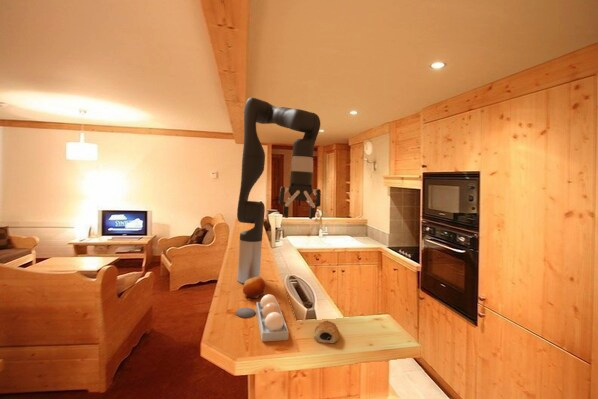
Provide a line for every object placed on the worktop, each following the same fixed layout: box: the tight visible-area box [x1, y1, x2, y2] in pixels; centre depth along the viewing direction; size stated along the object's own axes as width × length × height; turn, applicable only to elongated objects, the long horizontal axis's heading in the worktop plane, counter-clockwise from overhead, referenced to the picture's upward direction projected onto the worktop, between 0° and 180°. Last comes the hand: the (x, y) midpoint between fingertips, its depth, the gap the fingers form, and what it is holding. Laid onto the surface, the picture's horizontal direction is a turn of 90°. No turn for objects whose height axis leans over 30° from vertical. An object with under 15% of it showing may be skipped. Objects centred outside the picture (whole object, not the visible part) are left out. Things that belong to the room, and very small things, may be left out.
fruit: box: [242, 276, 266, 299], centre depth 105 cm, size 8×8×8 cm
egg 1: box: [259, 293, 278, 309], centre depth 92 cm, size 5×5×5 cm
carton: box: [255, 301, 290, 342], centre depth 86 cm, size 19×7×2 cm, turn 13°
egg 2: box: [265, 312, 284, 332], centre depth 80 cm, size 5×5×5 cm
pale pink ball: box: [262, 303, 281, 318], centre depth 86 cm, size 5×5×5 cm
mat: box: [235, 307, 256, 319], centre depth 91 cm, size 6×6×1 cm
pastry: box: [313, 320, 340, 344], centre depth 81 cm, size 9×7×4 cm
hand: (298, 218), depth 99 cm, fingers open, 8 cm apart
